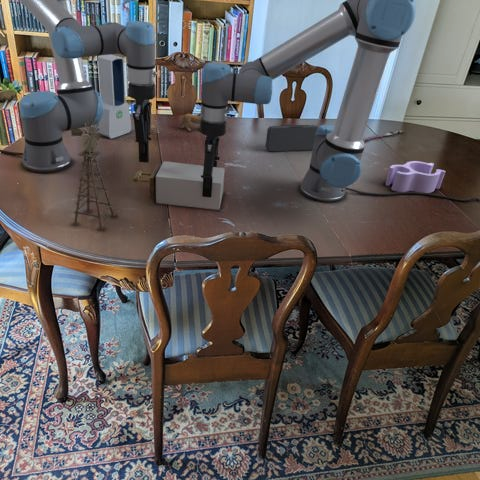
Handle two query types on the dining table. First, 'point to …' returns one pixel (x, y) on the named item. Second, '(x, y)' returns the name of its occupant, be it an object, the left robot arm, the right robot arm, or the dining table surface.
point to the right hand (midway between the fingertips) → (209, 187)
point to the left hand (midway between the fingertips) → (144, 161)
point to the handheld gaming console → (290, 137)
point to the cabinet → (188, 186)
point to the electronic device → (113, 97)
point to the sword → (381, 136)
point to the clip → (414, 177)
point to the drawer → (151, 181)
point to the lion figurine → (188, 118)
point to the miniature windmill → (85, 153)
